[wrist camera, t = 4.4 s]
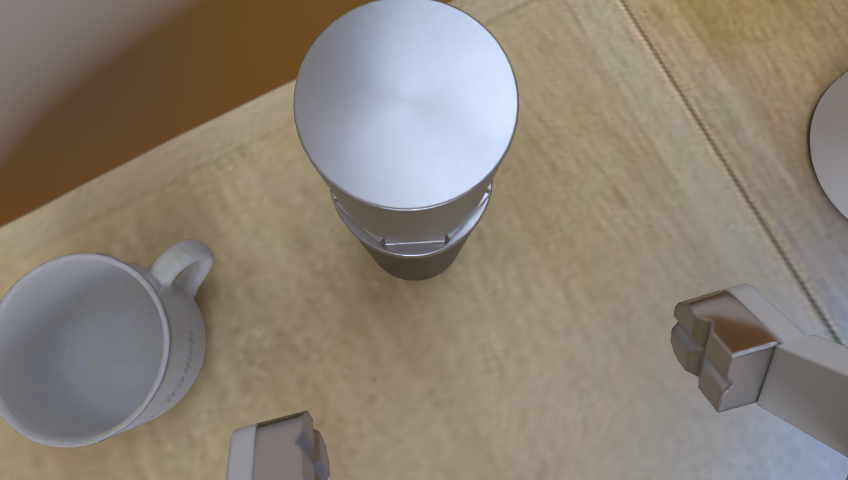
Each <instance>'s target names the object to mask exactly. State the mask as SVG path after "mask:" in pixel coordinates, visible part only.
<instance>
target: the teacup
mask: <svg viewBox="0 0 848 480" xmlns="http://www.w3.org/2000/svg"><path fill="white" fill-rule="evenodd" d="M213 261H214V256H213V253H212V251H211V249H210V248H209V247H208V246H207V245H205V244H204V243H203V242H202V241H200V240H196V239H188V240H184V241H181V242H178V243H177V244H175V245H173V246H171V247H170V248H168V249H167V250H166V251H165V252H164V253H163V254H162V255H161V256H160V257H158V259H157V260H156V261H155V263H154V264H153V266H152V268H151V269H150V268H147V267H144V266H140V265H137V264H133V263H129V262H124V261H121V260H119V259H116V258H114V257H111V256H108V255H103V254H99V253H75V254H69V255H64V256H60V257H57V258H54V259H52V260H50V261H48V262H46V263H43V264H41V265H39V266H37V267H35V268H34V269H32V270H31V271H30V272H28V273H27V274H25V275H24V276H23V277H22V278H21V279H19V280H18V281H17V282H16V283H15V284H14V285H13V286H12V287H11V288H10V290H9V291H8V292H7V293H6V295H5V296H4V298H3V299H2V300H1V302H0V416H1V417H3V418H4V419H5V420H6V421H7V423H8V424H9V425H10V426H11V427H12V428H14V429H15V430H16V431H17V432H18V433H20V434H21V435H23V436H25V437H27V438H28V439H30V440H32V441H34V442H37V443H40V444H43V445H48V446H52V447H80V446H85V445H90V444H94V443H97V442H101V441H103V440H106V439H108V438H110V437H112V436H114V435H116V434H118V433H121V432H124V431H127V430H130V429H132V428H135V427H137V426H140V425H142V424H145V423H147V422H149V421H151V420H153V419H155V418H157V417H159V416H160V415H162V414H164V413H165V412H167V411H168V410H169V409H171V408H172V407H173V406H174V405H176V404H177V403H178V402H179V401H180V400H181V399H182V398H183V397H184V396H185V394H186V393H187V392H188V390H189V389H190V388H191V386H192V385H193V383H194V382H195V380H196V378H197V376H198V374H199V372H200V369H201V367H202V364H203V360H204V356H205V351H206V329H205V324H204V320H203V317H202V314H201V311H200V309H199V307H198V305H197V303H196V302H195V300H194V297H195V295H196V294H197V291H198V288H199V286H200V285H201V283H202V282H203V280H204V279H205V277H206V276H207V274H208V272H209V271H210V269H211V267H212V265H213ZM184 268H185V269H184ZM183 269H184V271H183V272H182V273H181V275H180V276H179V277H178V278H177V279H176V280H174V279H175V277H176V276H177V275H178V274H179V273H180V272H181V271H182V270H183Z"/></svg>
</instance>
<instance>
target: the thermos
mask: <svg viewBox="0 0 848 480" xmlns="http://www.w3.org/2000/svg"><path fill="white" fill-rule="evenodd" d="M492 183H493V180H492V182H491V191H490V192H489V197H488V198H487V200H486V202H485V204H484V205H483V206H482V207H481V208H480V209H479V210H478V211H477V213H476V214H475V215H474V216H473V217H472V218H471V219H470V220H469V222H468V223H467V224H466V225H465V226H464V227H463V228H462V229H461V231H460V232H459V233H458V234H457V235H456V236H455V237H454V238H453V240H452V241H451V242H450V243H447V242H446V241H445V242H444V245H443V246H441V247H424V248H407V249H390V250H388V249H387V248H386V246H385V245H384V246H383V247H380V246H379V245H378V244H377V243H376V242H375V241H374V240H372V239H371V238H370V237H369V236H368V235H367V234H366V233H365V232H363V231H362V230H361V229H360V228H359V227H358V226H357V225H356V224H354V223H353V222H352V221H351V220H350V219H349V218H348V217H347V216H345V215H344V214H343V213H342V212H341V211H340V210H339V208H338V207H337V206H336V204H335V203H336V202H335V201H334V199H333V198H332V200H333V203H334V205H335V208H336V210H337V212H338V214H339V216H340V217H341V219H342V221H343V222H344V223H345V225H346V226H347V227H348V229H349V230H350V231H351V232H352V233H353V234H354V235H355V236H356V237H357V238H358V239H359V241H360V242H361V243H362V244H363V246H364V247H365V248H366V249H367V251H368V252H369V253H370V254H371V256H372V257H373V258H374V259H375V261H376V262H377V263H378V264H379V265H380V266H381V267H382V268H383V269H384V270H385V271H387V272H388V273H390V274H391V275H393V276H396V277H398V278H401V279H405V280H424V279H428V278H431V277H433V276H436V275H438V274H439V273H441V272H442V271H444V270H445V269H446V268H447V267H448V266H449V265H450V264H451V263H452V262H453V261H454V259H455V258H456V256H457V254H458V253H459V251H460V249H461V248H462V246H463V245H464V243H465V241H466V240H467V238H468V236H469V235H470V233H471V232H472V230H473V229H474V228H475V226H476V225H477V224H478V222H479V221H480V219H481V217H482V215H483V214H484V212H485V210H486V207H487V205H488V203H489V199H490V195H491V192H492ZM330 191H331V189H330ZM331 196H332V191H331Z"/></svg>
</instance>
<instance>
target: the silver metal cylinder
mask: <svg viewBox="0 0 848 480" xmlns="http://www.w3.org/2000/svg"><path fill="white" fill-rule="evenodd" d="M518 114H519V93H518V87H517V81H516V77H515V74H514V71H513V68H512V65H511V63H510V61H509V59H508V57H507V55H506V53H505V51H504V50H503V48H502V47H501V45H500V43H499V42H498V41H497V40H496V38H495V37H494V36H493V35H492V34H491V32H490V31H489V30H488V29H486V28H485V27H484V26H483V25H482V24H481V23H480V22H479V21H477V20H476V19H475V18H473V17H472V16H470V15H469V14H467V13H466V12H464V11H462V10H460V9H458V8H456V7H454V6H451V5H449V4H446V3H444V2H440V1H437V0H376V1H372V2H369V3H367V4H364V5H361V6H359V7H357V8H355V9H353V10H351V11H349V12H347V13H346V14H344V15H343V16H341V17H340V18H338V19H337V20H335V21H334V22H333V23H332V24H331V25H330V26H329V27H327V28H326V29H325V30H324V31H323V33H322V34H321V35H320V36H319V37H318V38H317V39H316V41H315V42H314V44H313V45H312V46H311V48H310V49H309V51H308V53H307V55H306V57H305V59H304V61H303V63H302V65H301V68H300V71H299V74H298V77H297V80H296V86H295V91H294V117H295V124H296V128H297V132H298V136H299V138H300V141H301V143H302V146H303V148H304V150H305V152H306V154H307V156H308V157H309V159H310V161H311V162H312V164H313V165H314V167H315V168H316V170H317V171H318V172H319V174H320V175H321V177H322V178H323V179H324V181H325V182H326V184H327V185H328V187H329V188H330V189H331V191H332V198H333V199H334V201H335V202H336V203H335V204H336V206H337V207H338V208H339V210H340V211H341V212H342V213H343V214H344V215H345V216H347V217H348V218H349V219H350V220H351V221H352V222H353V223H354V224H356V225H357V226H358V227H359V228H360V229H361V230H362V231H363V232H365V233H366V234H367V235H368V236H369V237H370V238H371V239H372V240H374V241H375V242H376V243H377V244H378V245H379V246H380V247H383V246H384V245H385V246H386V248H387V249H388V250H390V249H407V248H424V247H441V246H443V245H444V242H445V241H446V242H447V243H450V242H451V241H452V240H453V238H454V237H455V236H456V235H457V234H458V233H459V232H460V231H461V229H462V228H463V227H464V226H465V225H466V224H467V223H468V222H469V220H470V219H471V218H472V217H473V216H474V215H475V214H476V213H477V211H478V210H479V209H480V208H481V207H482V206H483V205H484V204H485V202H486V200H487V198H488V197H489V192H490V191H491V182H492V180H493V178H494V176H495V174H496V172H497V170H498V169H499V167H500V165H501V163H502V161H503V159H504V157H505V155H506V154H507V152H508V150H509V147H510V145H511V143H512V140H513V138H514V134H515V131H516V127H517V123H518Z"/></svg>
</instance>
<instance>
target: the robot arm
mask: <svg viewBox="0 0 848 480" xmlns="http://www.w3.org/2000/svg"><path fill="white" fill-rule="evenodd" d="M810 152H811V158H812V163H813V166H814V170H815V173H816V175H817V178H818V180H819V182H820V184H821V186H822V188H823V190H824V192H825V193H826V195H827V196H828V198H829V199H830V201H831V202H832V203H833V204H834V206H835V207H836V208H837V209H838V210H839V211H840V212H841V213H842V214H843V215H844V216H845V217H846V218H847V219H848V71H847V72H846V73H845V74H843V75H842V76H841V77H840V78H838V79H837V80H836V81H835V82H834V83H833V84H832V85H831V86H830V87H829V88H828V89H827V91H826V92H825V93H824V95H823V96H822V98H821V99H820V101H819V103H818V105H817V107H816V110H815V112H814V115H813V119H812V123H811V129H810ZM674 316H675V318H676V319H677V320H678V323H677V324H676V325H675V326H674V327H673V328H672V331H671V343H672V347H673V351H674V353H675V355H676V357H677V359H678V361H679V362H680V364H681V365H682V366H683V368H684V369H685V370H686V371H688V372H690V373H692V374H694V375H696V376H698V377H699V381H698V388H699V389H700V390H701V391H702V393H703V394H704V395H705V397H706V398H707V399H708V400H709V402H710V403H711V404H712V406H713V407H714V408H715V409H716V411H717V412H722V411H726V410H729V409H733V408H737V407H741V406H744V405H748V404H752V403H755V402H757V405H759V406H760V407H762V408H764V409H766V410H767V411H769V412H771V413H772V414H774V415H776V416H778V417H779V418H781V419H783V420H784V421H786V422H788V423H790V424H791V425H793V426H795V427H797V428H798V429H800V430H802V431H803V432H805V433H807V434H809V435H810V436H812V437H814V438H815V439H817V440H819V441H821V442H822V443H824V444H826V445H827V446H829V447H831V448H833V449H834V450H836V451H838V452H840V453H841V454H843V455H845V456H846V457H848V347H846V346H844V345H841V344H838V343H835V342H833V341H830V340H827V339H825V338H822V337H819V336H817V335H810V336H806V335H805V334H804V333H803V332H802V331H801V330H800V329H799V328H798V327H797V326H796V325H794V324H793V323H792V322H791V321H790V320H789V319H788V318H787V317H786V316H785V315H784V314H782V313H781V312H780V311H779V310H778V309H777V308H776V307H775V306H774V305H773V304H772V303H771V302H769V301H768V300H767V299H766V298H765V297H764V296H763V295H762V294H761V293H760V292H759V291H757V290H756V289H755V288H754V287H753V286H751V285H749V284H741V285H738V286H735V287H731V288H728V289H725V290H722V291H721V290H719V291H716V292H712V293H709V294H706V295H702V296H699V297H696V298H693V299H689V300H686V301H683V302H679V303H678V304H677V305H676V307H675V310H674ZM329 476H330V470H329V460H328V454H327V449H326V446H325V443H324V440H323V437H322V435H321V434H320V432H319V431H317V430H314V429H313V419H312V417H311V416H310V414H309V412H308V411H303V412H300V413H296V414H292V415H288V416H284V417H280V418H276V419H273V420H269V421H265V422H261V423H257V424H253V425H250V426H246V427H243V428H239V429H236V430H234V432H233V434H232V437H231V440H230V449H229V458H228V467H227V475H226V480H327V479H328V477H329ZM846 480H848V476H847V478H846Z"/></svg>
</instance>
